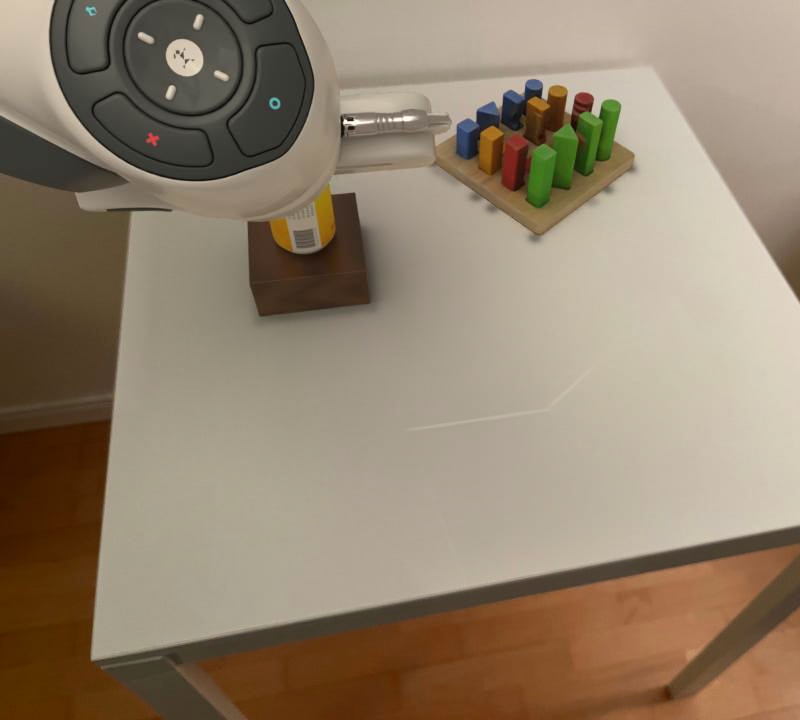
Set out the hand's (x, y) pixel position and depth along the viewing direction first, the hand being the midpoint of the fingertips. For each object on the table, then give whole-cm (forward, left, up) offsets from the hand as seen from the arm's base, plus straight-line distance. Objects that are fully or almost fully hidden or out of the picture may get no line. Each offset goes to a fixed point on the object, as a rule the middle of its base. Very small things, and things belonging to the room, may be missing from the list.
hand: (274, 158), depth 50 cm
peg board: (+27, +25, -25) cm, 45 cm away
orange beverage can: (0, +12, -20) cm, 23 cm away
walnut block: (0, +12, -25) cm, 28 cm away
